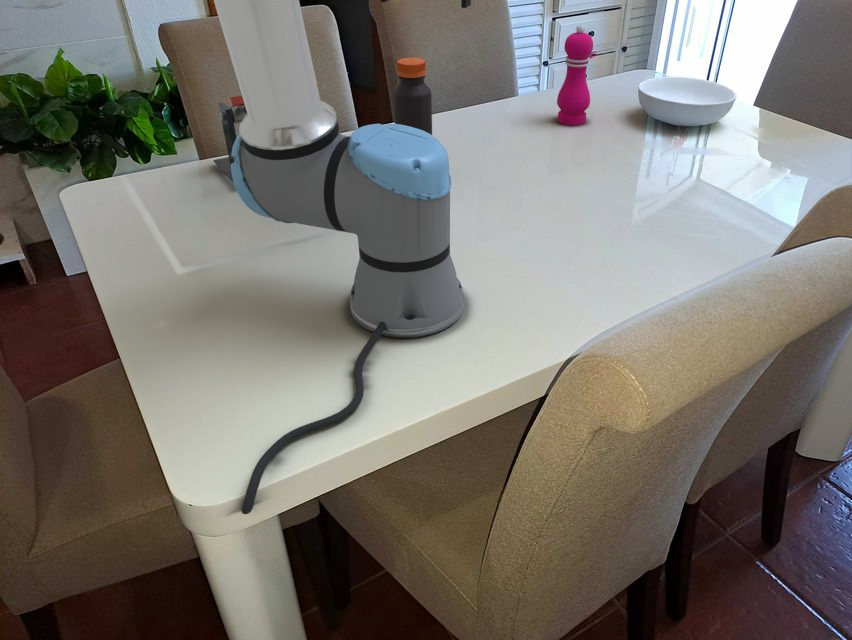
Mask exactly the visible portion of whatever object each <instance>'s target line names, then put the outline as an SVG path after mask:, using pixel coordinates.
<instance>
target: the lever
mask: <svg viewBox="0 0 852 640" xmlns="http://www.w3.org/2000/svg"><path fill="white" fill-rule="evenodd" d="M228 102H229V105H230V107H229V108H230V109H231V112H232V117H233V122H234V124H239V123H240V124H241V122H242V120H243V119H244V117H245V116H246V113H245V112H246V107H245V104H244V101H243V97H242V95H236V96H230V97H229V98H228Z"/></svg>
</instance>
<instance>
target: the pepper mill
mask: <svg viewBox="0 0 852 640" xmlns="http://www.w3.org/2000/svg"><path fill="white" fill-rule="evenodd" d="M585 30H586V28H585V26H584V25H583V24H578V25H577V26H576V28H575V31H576V32H573V33H570V34H568V36H567V37H566V39H565V42H564V47H563V48H564V52H565V54H566V55H567V56H566V57H565V65H566V75H565V78H564V81H563V83H562V86H561V88H560V89H559V91H558V95H557V98H556V105H557V107H558V108H559V109H560V110H559V111H558V112H557V122H559V123H560V124H561V125H565V126H580V125H581V126H582V125H583V124H585V123H587V122H586V121H587V113H586V111H587V109H588V108H589V107H590V106H591V105H590V104H591V95H590V90H589V86H588V83H587V68H588V66H589V65H590V57H589V56H590V55H591V54H592V52H593V50H594V40H593V38H592V36H591V35H590V34H588V33H586V32H585Z"/></svg>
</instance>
